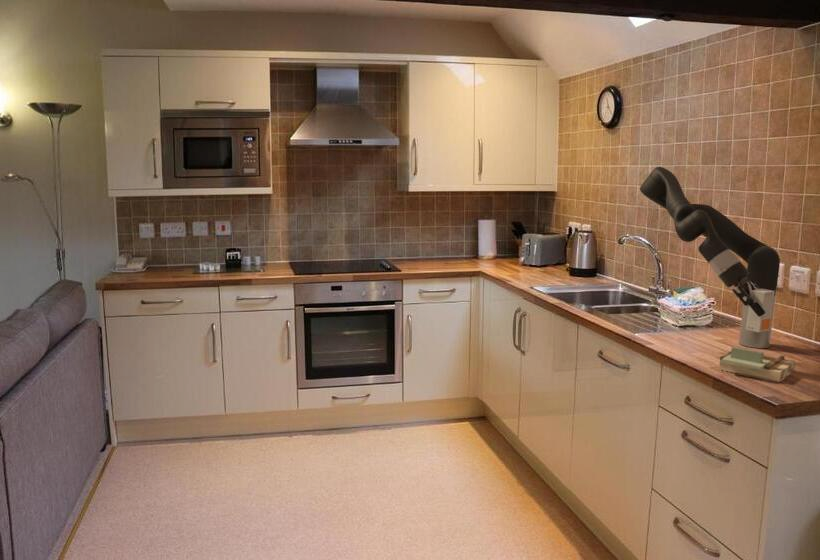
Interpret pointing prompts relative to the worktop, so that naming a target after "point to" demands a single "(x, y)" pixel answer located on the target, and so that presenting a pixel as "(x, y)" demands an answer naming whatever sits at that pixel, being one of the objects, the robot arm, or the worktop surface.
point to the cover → (746, 358)
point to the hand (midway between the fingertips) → (766, 313)
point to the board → (771, 372)
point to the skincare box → (766, 302)
